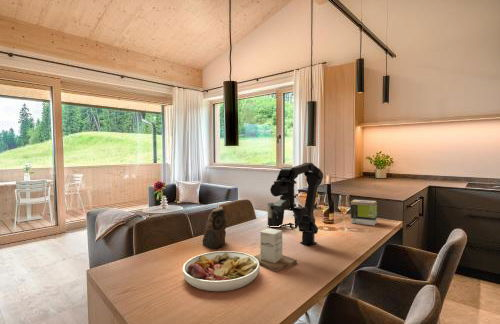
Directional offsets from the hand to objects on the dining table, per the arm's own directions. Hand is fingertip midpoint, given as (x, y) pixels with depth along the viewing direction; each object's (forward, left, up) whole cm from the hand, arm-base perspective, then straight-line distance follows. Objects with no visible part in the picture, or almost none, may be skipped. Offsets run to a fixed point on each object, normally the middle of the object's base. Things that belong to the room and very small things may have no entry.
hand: (288, 226), depth 137 cm
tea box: (-78, -2, -13) cm, 79 cm away
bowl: (+38, -2, -14) cm, 40 cm away
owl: (+19, -35, -13) cm, 42 cm away
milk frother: (-32, -35, -13) cm, 49 cm away
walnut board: (+13, +3, -13) cm, 19 cm away
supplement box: (+14, +2, -12) cm, 18 cm away
